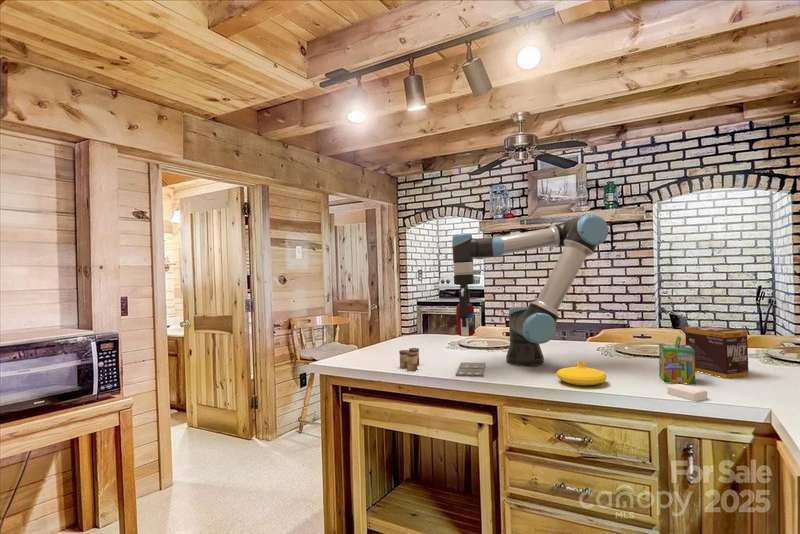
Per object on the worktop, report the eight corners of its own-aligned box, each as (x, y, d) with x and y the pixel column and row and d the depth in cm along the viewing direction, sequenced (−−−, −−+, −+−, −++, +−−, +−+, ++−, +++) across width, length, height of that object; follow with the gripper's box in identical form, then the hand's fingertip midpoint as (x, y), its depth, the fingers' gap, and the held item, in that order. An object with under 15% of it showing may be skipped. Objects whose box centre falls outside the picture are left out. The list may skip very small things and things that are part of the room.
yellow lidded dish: (548, 384, 149) (547, 363, 149) (569, 375, 160) (568, 355, 160) (595, 392, 138) (595, 369, 138) (614, 382, 149) (613, 361, 149)
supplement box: (726, 379, 148) (725, 332, 148) (685, 369, 162) (684, 327, 162) (750, 376, 150) (748, 330, 150) (707, 367, 165) (706, 325, 165)
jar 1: (410, 366, 182) (410, 350, 182) (408, 368, 178) (408, 352, 178) (401, 366, 183) (400, 350, 183) (398, 368, 179) (398, 351, 179)
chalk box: (659, 376, 154) (657, 334, 154) (690, 378, 150) (688, 334, 150) (663, 383, 145) (662, 338, 145) (696, 385, 142) (694, 339, 142)
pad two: (485, 364, 182) (485, 362, 182) (484, 369, 172) (484, 367, 172) (460, 363, 184) (460, 361, 184) (458, 369, 174) (458, 367, 174)
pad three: (484, 370, 171) (484, 368, 171) (482, 376, 161) (482, 374, 161) (458, 369, 173) (458, 367, 173) (455, 375, 164) (455, 373, 164)
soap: (708, 400, 127) (708, 389, 127) (695, 403, 125) (695, 392, 125) (679, 392, 135) (678, 382, 135) (666, 395, 133) (665, 385, 133)
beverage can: (474, 336, 165) (473, 304, 165) (456, 336, 166) (454, 305, 166) (475, 333, 171) (474, 303, 171) (458, 334, 173) (456, 303, 173)
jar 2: (420, 364, 186) (419, 348, 186) (418, 366, 182) (417, 349, 182) (410, 363, 187) (410, 347, 187) (408, 366, 183) (408, 349, 183)
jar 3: (418, 369, 177) (418, 352, 177) (416, 371, 173) (416, 354, 173) (408, 368, 178) (407, 351, 178) (406, 371, 174) (405, 353, 174)
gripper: (457, 273, 179) (459, 330, 179) (449, 275, 160) (452, 338, 160) (475, 273, 177) (478, 330, 177) (470, 274, 158) (473, 338, 158)
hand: (466, 334), depth 169 cm, fingers closed on beverage can, 7 cm apart
